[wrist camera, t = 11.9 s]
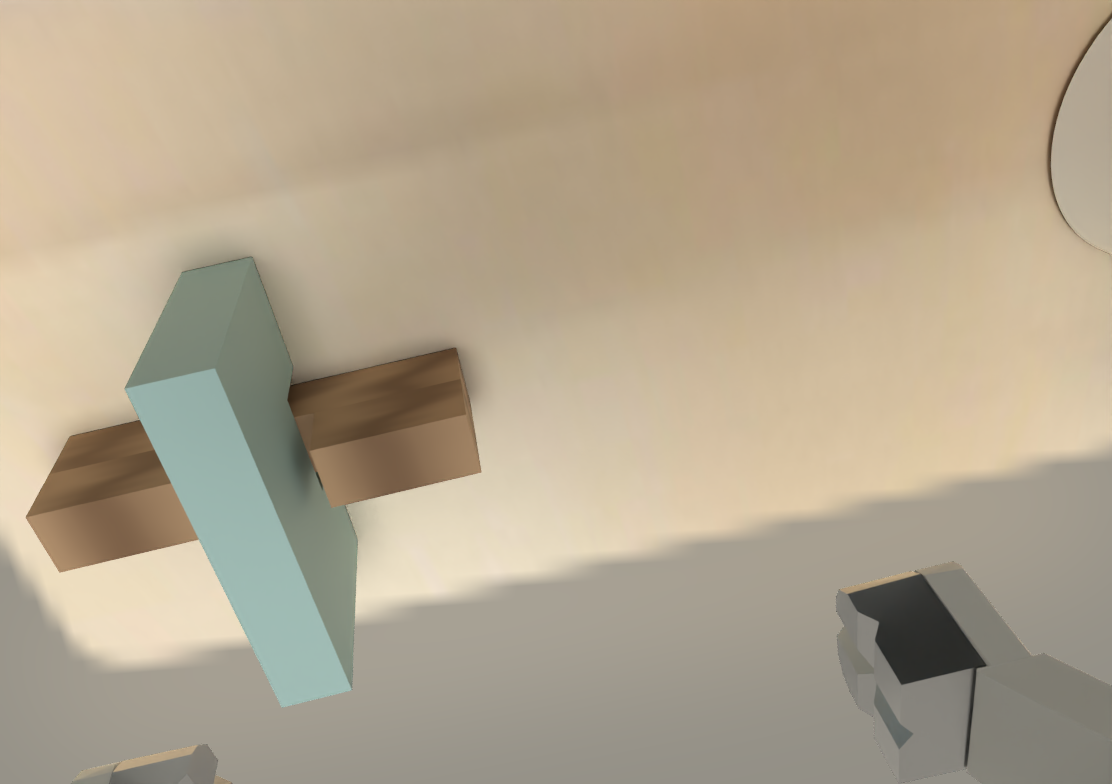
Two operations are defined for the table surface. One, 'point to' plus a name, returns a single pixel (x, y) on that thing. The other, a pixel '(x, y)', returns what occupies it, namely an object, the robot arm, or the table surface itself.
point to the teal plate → (250, 477)
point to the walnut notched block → (327, 432)
